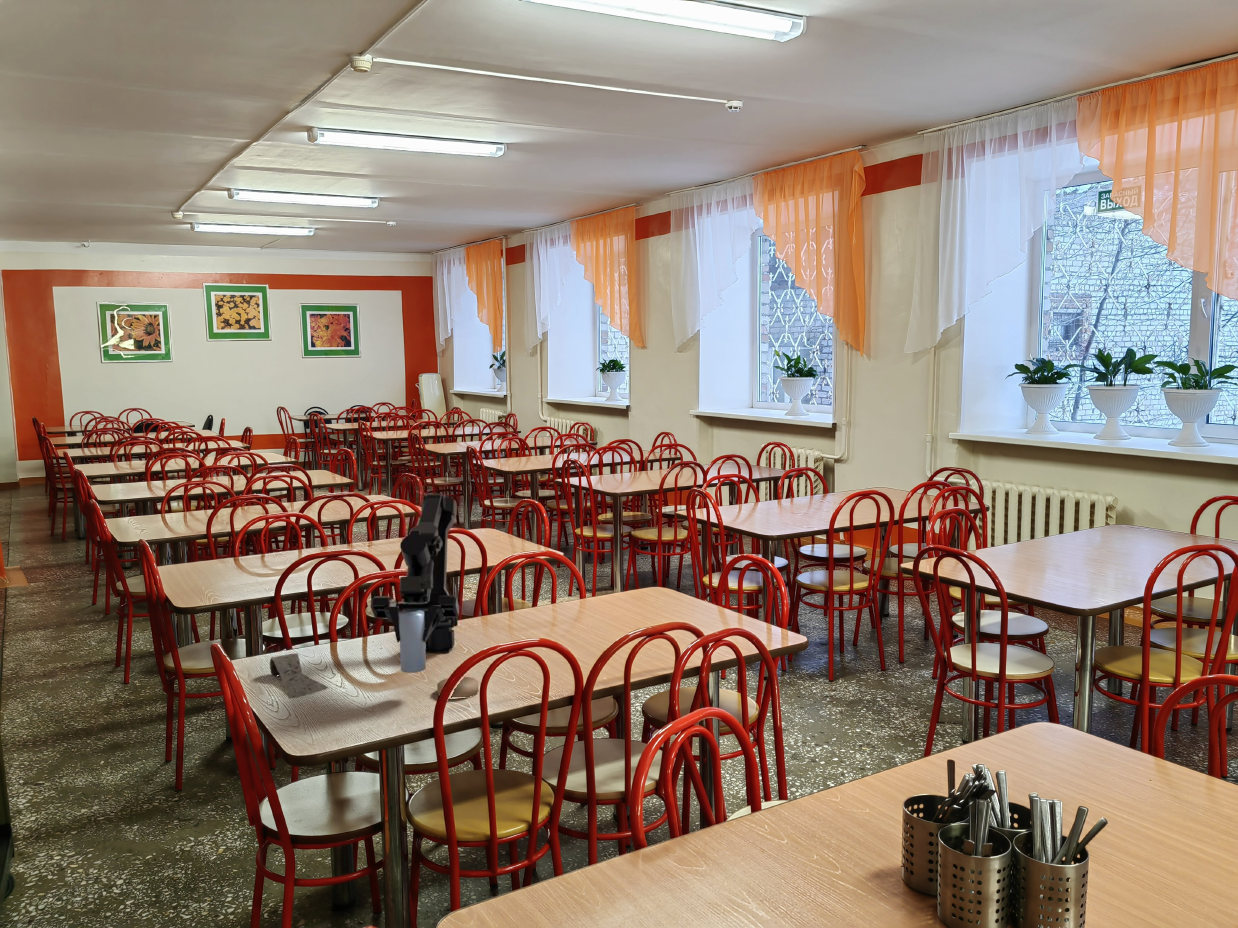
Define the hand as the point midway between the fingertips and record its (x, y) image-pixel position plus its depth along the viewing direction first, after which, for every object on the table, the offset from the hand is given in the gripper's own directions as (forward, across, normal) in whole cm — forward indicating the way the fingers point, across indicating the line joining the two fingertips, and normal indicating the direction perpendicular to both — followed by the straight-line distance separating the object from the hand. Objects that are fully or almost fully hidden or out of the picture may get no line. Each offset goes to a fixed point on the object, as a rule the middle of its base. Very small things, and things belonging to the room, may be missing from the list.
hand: (411, 641), depth 204 cm
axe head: (+2, -29, +18) cm, 34 cm away
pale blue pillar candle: (+4, 0, +6) cm, 7 cm away
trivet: (+7, +9, +12) cm, 16 cm away
